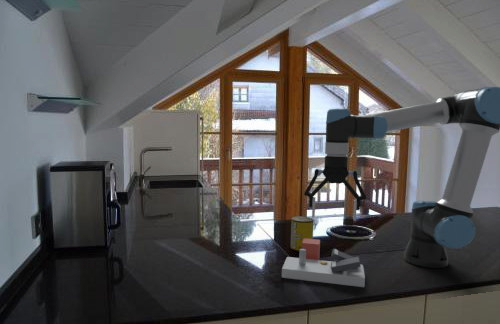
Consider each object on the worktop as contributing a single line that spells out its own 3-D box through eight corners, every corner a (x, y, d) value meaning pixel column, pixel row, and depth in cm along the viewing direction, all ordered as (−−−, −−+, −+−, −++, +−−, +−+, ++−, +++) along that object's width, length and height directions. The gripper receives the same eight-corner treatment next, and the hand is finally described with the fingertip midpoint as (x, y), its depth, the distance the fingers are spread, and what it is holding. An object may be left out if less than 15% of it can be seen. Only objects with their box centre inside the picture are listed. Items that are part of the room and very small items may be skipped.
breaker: (359, 261, 123) (358, 256, 123) (360, 266, 119) (359, 261, 119) (332, 266, 126) (331, 261, 126) (332, 272, 121) (330, 266, 121)
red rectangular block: (319, 260, 141) (320, 239, 140) (318, 266, 135) (319, 244, 135) (303, 259, 142) (303, 238, 142) (301, 264, 137) (302, 242, 136)
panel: (362, 273, 130) (363, 250, 129) (364, 287, 118) (365, 262, 118) (286, 264, 136) (287, 243, 135) (281, 277, 124) (282, 253, 124)
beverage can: (299, 242, 163) (300, 215, 162) (316, 248, 156) (318, 219, 155) (285, 247, 157) (287, 218, 155) (303, 252, 150) (304, 222, 149)
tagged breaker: (357, 263, 130) (358, 258, 129) (357, 268, 125) (359, 263, 124) (331, 252, 131) (333, 248, 131) (331, 257, 126) (333, 252, 126)
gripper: (374, 156, 127) (371, 218, 129) (300, 153, 133) (297, 213, 135) (376, 157, 120) (373, 223, 122) (297, 154, 126) (295, 217, 128)
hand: (333, 218), depth 128 cm, fingers open, 13 cm apart
